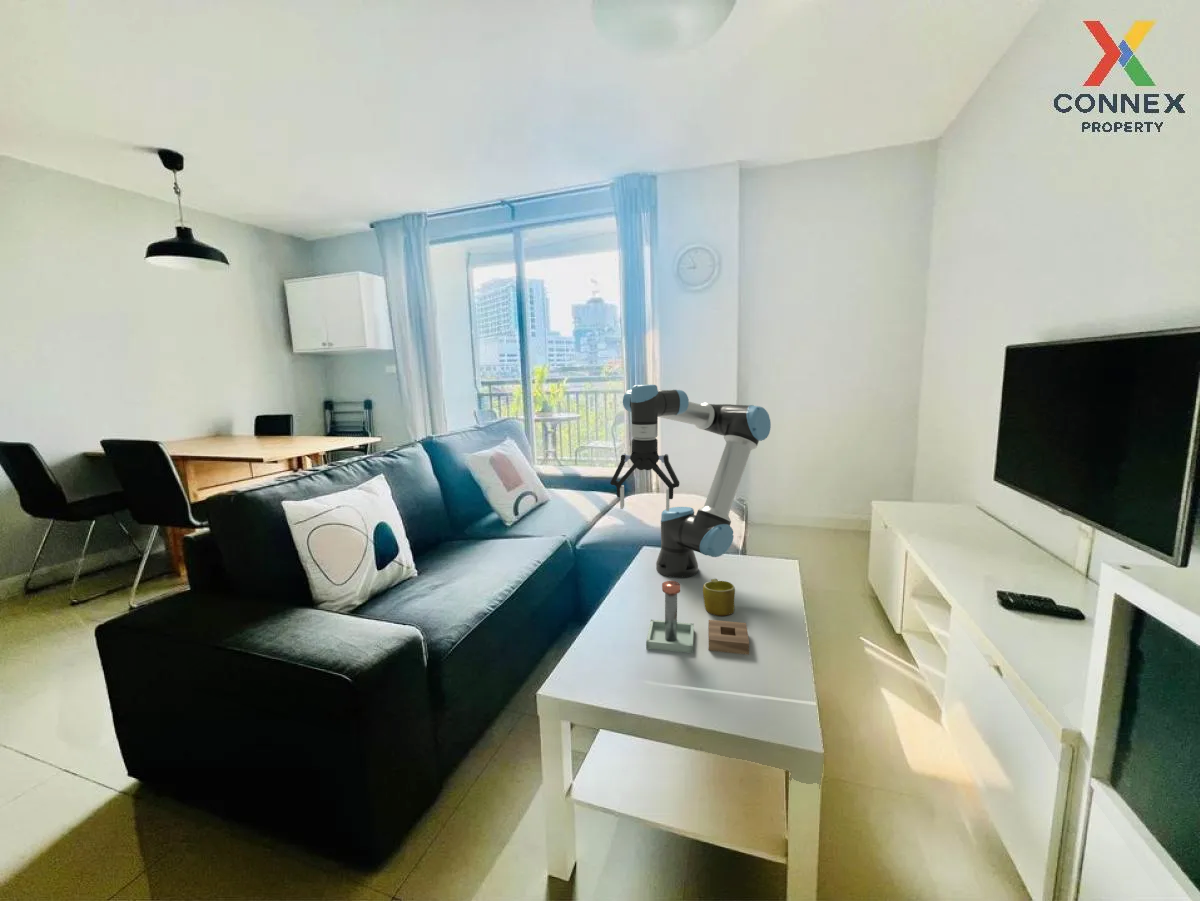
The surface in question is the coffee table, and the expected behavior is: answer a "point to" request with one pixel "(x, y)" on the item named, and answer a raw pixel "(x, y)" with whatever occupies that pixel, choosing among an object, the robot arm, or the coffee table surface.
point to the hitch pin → (671, 609)
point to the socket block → (728, 637)
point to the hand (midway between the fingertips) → (644, 508)
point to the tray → (659, 642)
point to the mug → (719, 597)
